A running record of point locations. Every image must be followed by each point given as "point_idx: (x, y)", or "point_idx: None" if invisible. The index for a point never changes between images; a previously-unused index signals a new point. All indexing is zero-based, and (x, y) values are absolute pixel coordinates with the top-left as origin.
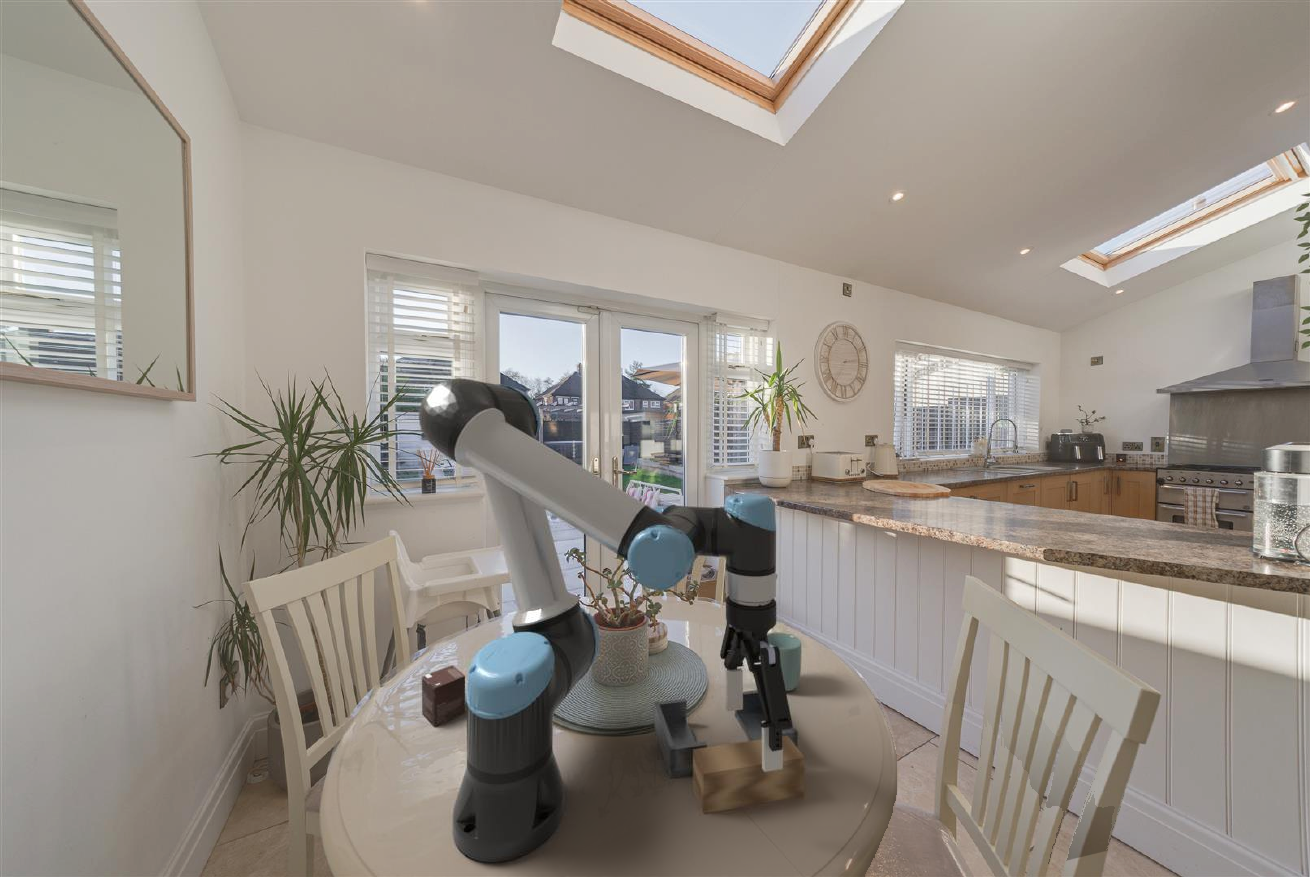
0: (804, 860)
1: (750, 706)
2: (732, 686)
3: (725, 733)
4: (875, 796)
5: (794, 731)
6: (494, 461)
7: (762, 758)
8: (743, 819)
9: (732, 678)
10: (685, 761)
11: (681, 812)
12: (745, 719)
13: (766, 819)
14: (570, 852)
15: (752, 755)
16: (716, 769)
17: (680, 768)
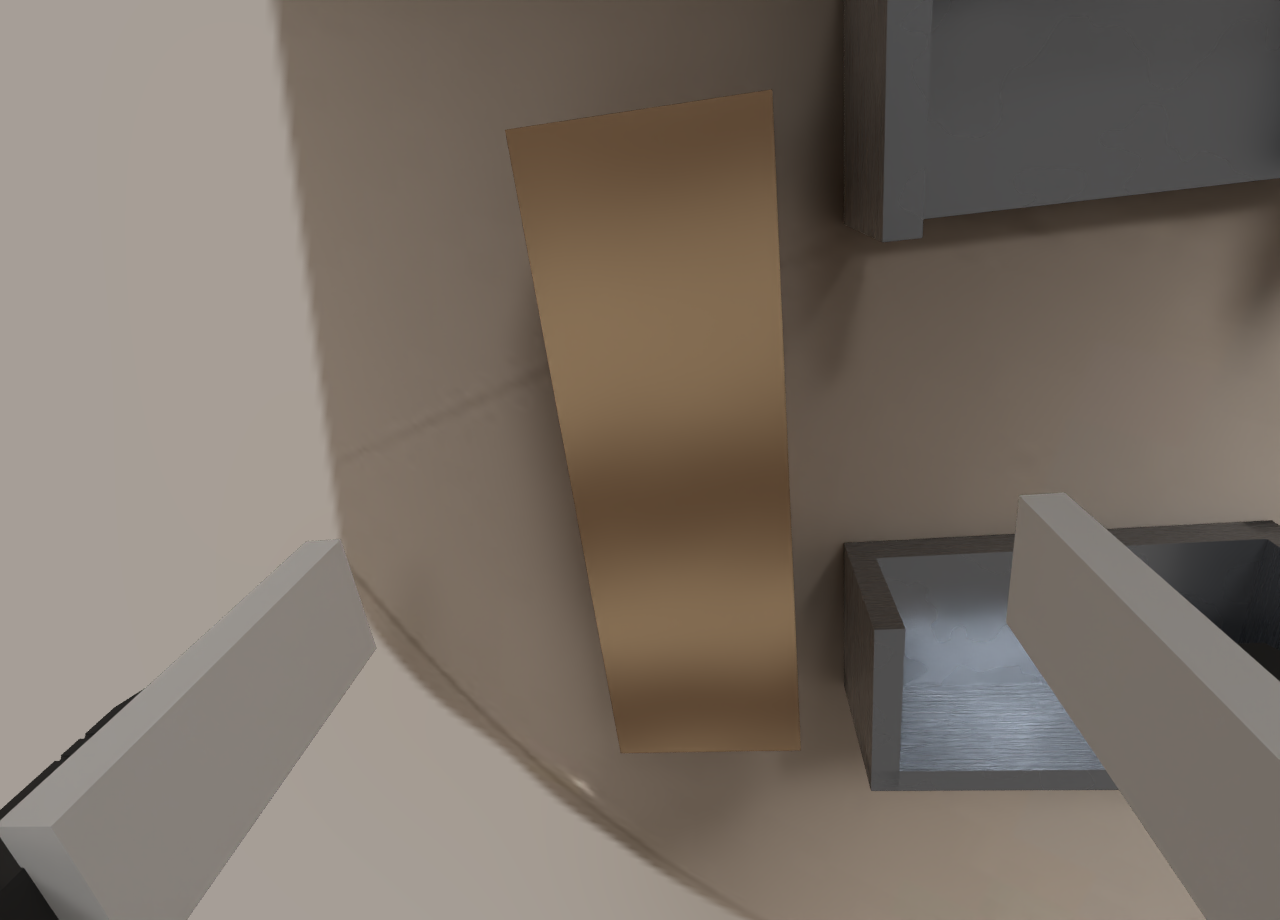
0: (357, 508)
1: (1269, 639)
2: (1150, 700)
3: (1136, 420)
4: (616, 827)
5: (876, 779)
6: None
7: (295, 578)
8: (529, 341)
9: (1226, 790)
10: (863, 61)
11: (578, 3)
12: (1184, 569)
13: (528, 440)
14: None
15: (658, 514)
16: (544, 242)
17: (852, 26)
